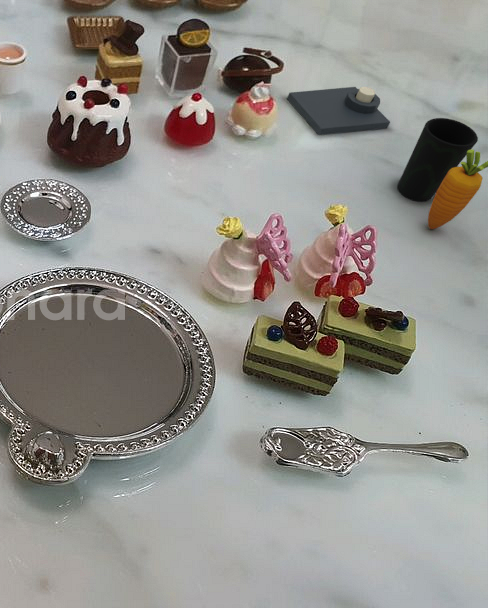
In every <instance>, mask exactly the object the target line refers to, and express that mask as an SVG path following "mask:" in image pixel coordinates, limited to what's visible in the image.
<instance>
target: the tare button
mask: <svg viewBox="0 0 488 608" xmlns="http://www.w3.org/2000/svg"><path fill="white" fill-rule="evenodd" d="M358 89H359V91H358V93H357V95H356V99H357V100H359V101H361V102H365V103H370V102H371V101H372V99H373V97H374V95H375V94H376V90H375V89H374V88H371V87H369V86H362V87H360V88H358Z"/></svg>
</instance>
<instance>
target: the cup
mask: <svg viewBox="0 0 488 608" xmlns="http://www.w3.org/2000/svg"><path fill="white" fill-rule="evenodd" d="M478 141H479V137H478V134H477V133H476V131H475V130H474V129H472V128H471V126H469V125H467V124H465V123H463V122H461V121H458V120H456V119H452V118H446V117H436V118H431V119H429V120H427V121H426V122H425V124H424V125H423V128H422V131H421V133H420V135H419V137H418V140H417V141H416V144H415V146H414V148H413V150H412V153H411V155H410V157H409V158H408V161H407V163H406V166H405V168H404V170H403V172H402V174H401V177H400V178H399V181H398V182H397V185H396V187H397V191H398V192H399V193H400V194H401V195H402V196H403V197H405V198H406V199H408V200H411V201H414V202H419V203H425V202H429V201H431V200H432V199H433V198H434V197H435V194H436V192H437V190H438V188H439V186H440V185H441V183H442V181H443V179H444V178H445V176H446V174H447V173H448V171H449V170H450V169H451V168H454V167H459V165H461V162H463V160H464V159H465V157H466V156H467V151H468V150H471V149H473V148H474V147H475V146H476V144H477V142H478Z"/></svg>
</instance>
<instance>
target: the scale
mask: <svg viewBox="0 0 488 608" xmlns="http://www.w3.org/2000/svg"><path fill="white" fill-rule="evenodd" d="M359 89H360V88H357V87H356V86H349V87H348V86H347V87H337V88H325V89H315V90H313V89H312V90H303V91H292V92H291V91H290V92H289V93H288V95H287V97H286V99H287V101H288V103H290V105H292V106H293V108H294V109H295V110H296V111H297V112H298V114H300V116H301V117H302V118H303V119H304V120H305V122H306V123H307V124H309V126H310V127H311V128H312V129H313V130H314V132H315V133H316V134H317V135H318V136H322V135H323V136H324V135H334V134H341V133H352V132H353V133H354V132H364V131H372V130H381V129H388V127H389V126H390V123H391V121H390V120H389V119H388V118H387V117H386V116H385V115H384V114H383V113H382V112H381V111H380V109H378V108H379V107H380V104H381V98H380V97H379V96H378V95H377V94H376V93H375V95H374V97H373V99H372V101H371V102H370V103H365V102H361V101H359V100H357V99H356V95H357V93H358V91H359Z"/></svg>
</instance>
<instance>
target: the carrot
mask: <svg viewBox="0 0 488 608" xmlns="http://www.w3.org/2000/svg"><path fill="white" fill-rule="evenodd" d="M465 157H466V161H461V162H460V165H461V166H457V167H454V168H451V169H450V170H449V171H448V173H447V174H446V176H445V178H444V179H443V181H442V183H441V185H440V186H439V188H438V190H437V192H436V193H435V195H434V196H433V198H432V199H433V200H432V202H431V205H430V208H429V210H428V216H427V227H428V228H429V230H436V229H439V228H441V227H442V226H444V225H446V224H448V223H449V222H451V221H452V220H453V219H455V217H457V216H459V214H460V213H461V212H462V211H463V210H464V209H465V208H466V207H467V205H468V204H469V203H470V202H471V201H472V199H473V198H474V197H475V196H476V194H477V193H478V191H480V189H481V186H482V182H483V180H484V179H483V175H482V174H480V172H481V171H483V170H484V169H487V168H488V160H487V161H484V162H483V163H482V164H481V165H479V164H480V162H481V152H480V151H477V150H476V151H475V149H473V148H472V149H471V150H468V151H467V155H466V156H465Z"/></svg>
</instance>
